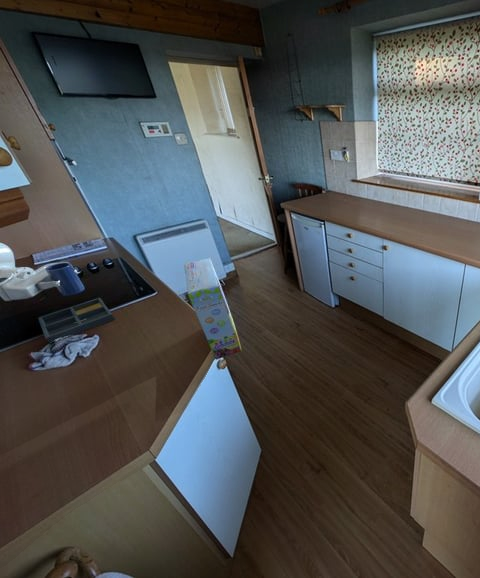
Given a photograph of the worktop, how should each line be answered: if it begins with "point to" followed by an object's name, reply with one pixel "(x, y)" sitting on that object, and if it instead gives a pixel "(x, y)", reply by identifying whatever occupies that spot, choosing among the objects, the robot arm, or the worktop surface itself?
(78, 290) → the cup
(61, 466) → the worktop surface
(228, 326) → the snack box
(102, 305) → the grey divided tray
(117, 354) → the worktop surface
